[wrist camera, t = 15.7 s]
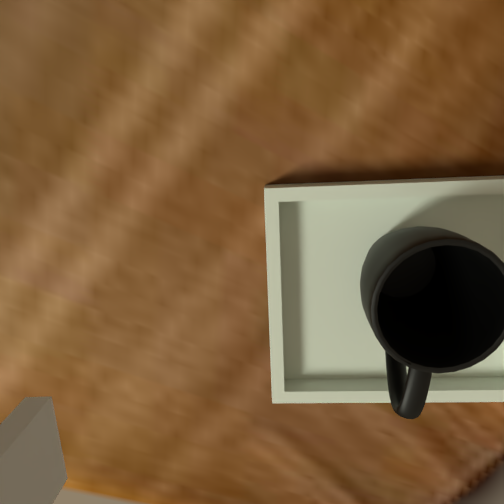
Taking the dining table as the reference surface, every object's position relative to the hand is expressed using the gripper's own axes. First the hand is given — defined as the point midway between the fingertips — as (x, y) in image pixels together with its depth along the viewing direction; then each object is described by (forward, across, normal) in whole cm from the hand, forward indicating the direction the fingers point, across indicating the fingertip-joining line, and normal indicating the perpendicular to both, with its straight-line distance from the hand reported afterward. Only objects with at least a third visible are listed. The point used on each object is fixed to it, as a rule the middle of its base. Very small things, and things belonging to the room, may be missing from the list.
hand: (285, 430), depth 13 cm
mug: (+23, +9, -4) cm, 25 cm away
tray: (+24, +9, -4) cm, 26 cm away
